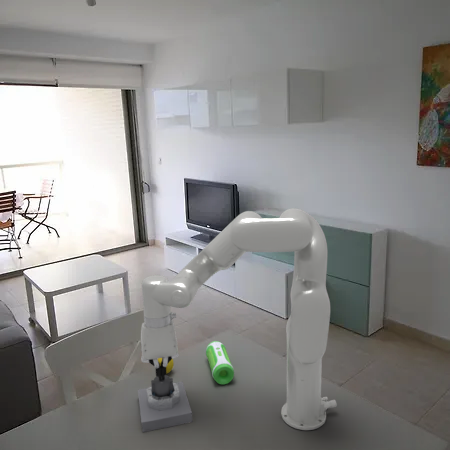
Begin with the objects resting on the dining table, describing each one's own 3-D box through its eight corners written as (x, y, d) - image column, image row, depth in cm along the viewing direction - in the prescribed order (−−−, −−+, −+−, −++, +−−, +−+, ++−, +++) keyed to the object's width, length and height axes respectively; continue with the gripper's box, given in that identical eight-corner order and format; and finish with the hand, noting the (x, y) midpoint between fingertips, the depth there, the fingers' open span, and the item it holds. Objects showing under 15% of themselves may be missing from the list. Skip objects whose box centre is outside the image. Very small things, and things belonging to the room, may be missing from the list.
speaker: (205, 359, 154) (204, 340, 152) (225, 357, 155) (224, 338, 153) (213, 387, 137) (212, 366, 135) (235, 384, 138) (234, 363, 136)
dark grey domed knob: (173, 394, 128) (172, 373, 127) (173, 404, 124) (173, 382, 122) (152, 396, 127) (151, 375, 126) (152, 406, 123) (151, 385, 121)
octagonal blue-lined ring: (176, 389, 131) (175, 379, 130) (181, 406, 123) (180, 396, 122) (146, 394, 129) (146, 384, 128) (149, 413, 120) (148, 402, 120)
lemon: (175, 369, 148) (174, 348, 146) (172, 378, 142) (170, 357, 140) (160, 369, 148) (158, 348, 146) (156, 378, 143) (154, 356, 141)
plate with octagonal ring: (183, 389, 136) (182, 381, 135) (192, 422, 121) (191, 412, 120) (138, 398, 132) (137, 389, 132) (142, 432, 117) (141, 422, 116)
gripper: (181, 310, 126) (184, 366, 130) (130, 317, 122) (134, 374, 126) (186, 321, 118) (188, 380, 122) (131, 328, 115) (136, 389, 119)
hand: (161, 377), depth 124 cm, fingers closed
